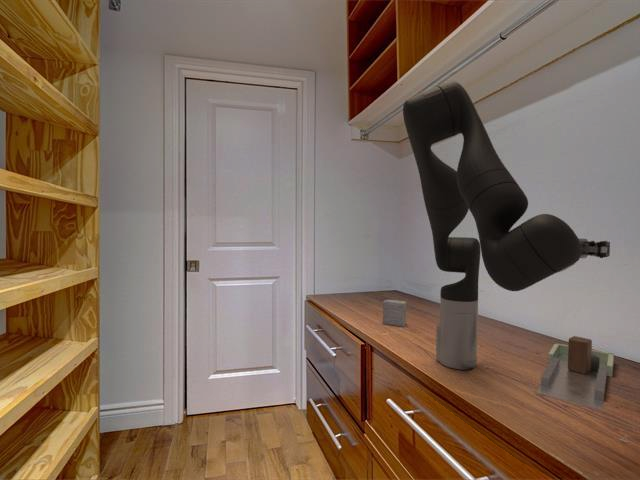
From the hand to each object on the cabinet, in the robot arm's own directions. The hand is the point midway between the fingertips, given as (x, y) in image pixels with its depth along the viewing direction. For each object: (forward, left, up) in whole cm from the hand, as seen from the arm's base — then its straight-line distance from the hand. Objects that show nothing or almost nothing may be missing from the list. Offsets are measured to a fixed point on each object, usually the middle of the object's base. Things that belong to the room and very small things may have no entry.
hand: (563, 246), depth 69 cm
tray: (-7, +31, -32) cm, 45 cm away
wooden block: (-5, +25, -32) cm, 41 cm away
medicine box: (-63, +19, -32) cm, 73 cm away
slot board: (-4, +20, -32) cm, 38 cm away
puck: (-5, +29, -32) cm, 43 cm away
